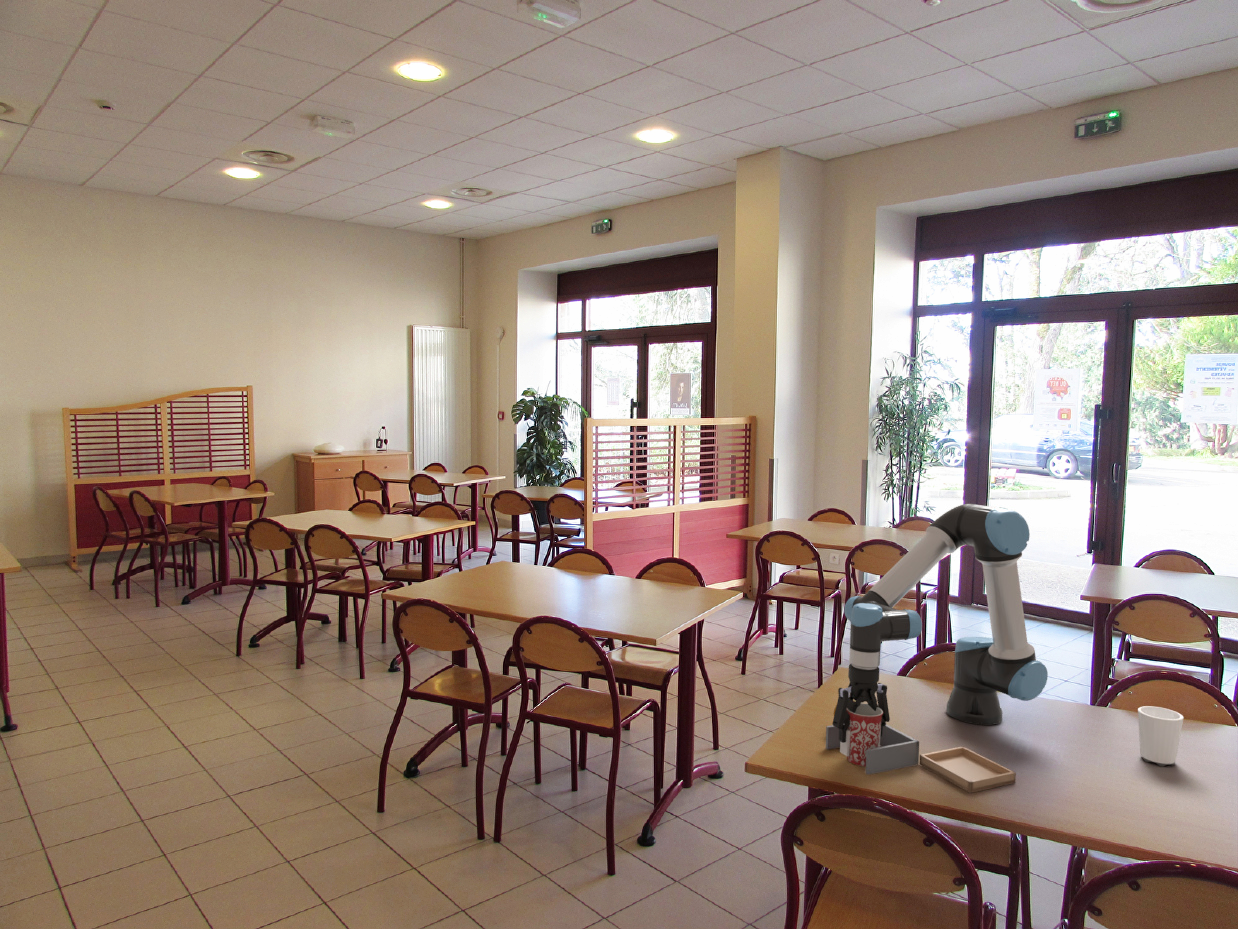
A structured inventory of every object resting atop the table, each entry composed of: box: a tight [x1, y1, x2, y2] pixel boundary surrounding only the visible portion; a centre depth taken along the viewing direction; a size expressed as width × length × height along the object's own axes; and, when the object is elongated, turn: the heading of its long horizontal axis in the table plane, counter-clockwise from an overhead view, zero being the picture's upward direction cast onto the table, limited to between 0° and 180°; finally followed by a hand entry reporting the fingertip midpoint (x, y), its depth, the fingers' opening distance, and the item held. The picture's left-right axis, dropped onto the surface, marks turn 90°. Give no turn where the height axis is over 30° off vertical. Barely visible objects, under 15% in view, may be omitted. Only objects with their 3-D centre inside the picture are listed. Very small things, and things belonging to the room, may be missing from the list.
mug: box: [846, 702, 883, 768], centre depth 208 cm, size 13×9×14 cm
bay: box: [825, 723, 920, 776], centre depth 210 cm, size 16×17×6 cm
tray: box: [918, 746, 1017, 794], centre depth 201 cm, size 14×16×2 cm
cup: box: [1137, 705, 1184, 767], centre depth 209 cm, size 10×10×13 cm
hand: (859, 751), depth 208 cm, fingers open, 9 cm apart
